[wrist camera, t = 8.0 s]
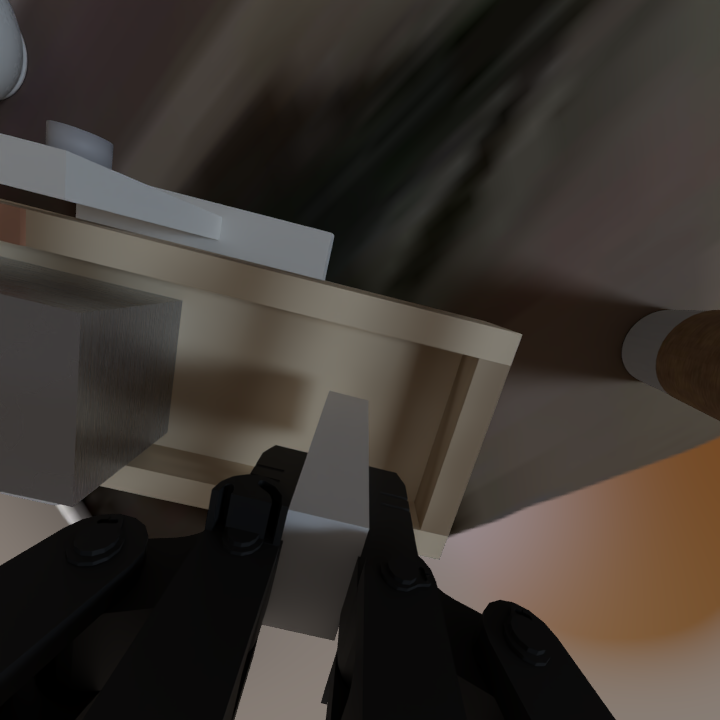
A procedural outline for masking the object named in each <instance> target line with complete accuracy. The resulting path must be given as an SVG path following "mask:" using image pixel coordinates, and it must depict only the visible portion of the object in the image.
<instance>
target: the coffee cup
mask: <svg viewBox="0 0 720 720" xmlns="http://www.w3.org/2000/svg"><path fill="white" fill-rule="evenodd" d="M622 360H623V364H624V366H625V368H626V370H627V371H628V372H629V373H630V374H631V375H632V376H633V377H634V378H636V379H638V380H640V381H642V382H644V383H646V384H648V385H650V386H652V387H654V388H657V389H659V390H661V391H663V392H665V393H667V394H669V395H670V396H672V397H674V398H676V399H678V400H680V401H682V402H684V403H686V404H688V405H690V406H692V407H693V408H695V409H697V410H699V411H701V412H703V413H705V414H707V415H709V416H711V417H713V418H715V419H717V420H719V421H720V310H711V311H697V310H663V311H657V312H654V313H651V314H649V315H647V316H645V317H644V318H642V319H641V320H639V321H638V322H637V323H636V324H635V325H634V326H633V327H632V328H631V329H630V331H629V332H628V334H627V335H626V338H625V340H624V342H623V347H622Z"/></svg>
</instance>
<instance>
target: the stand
mask: <svg viewBox="0 0 720 720" xmlns="http://www.w3.org/2000/svg"><path fill="white" fill-rule="evenodd" d="M112 157H113V144H112V143H110V142H109V141H107V140H105V139H103V138H101V137H99V136H96V135H94V134H91V133H89V132H86V131H84V130H81V129H78V128H76V127H73V126H70V125H67V124H63V123H60V122H56V121H51V120H47V121H46V145H43V144H39V143H36V142H32V141H28V140H24V139H20V138H16V137H12V136H9V135H5V134H1V133H0V184H4V185H7V186H11V187H15V188H19V189H23V190H27V191H31V192H34V193H38V194H42V195H46V196H50V197H54V198H57V199H61V200H65V201H69V202H73V203H76V218H79V219H83V220H87V221H91V222H95V223H99V224H103V225H107V226H111V227H115V228H119V229H123V230H126V231H130V232H134V233H138V234H142V235H146V236H150V237H154V238H158V239H162V240H166V241H170V242H174V243H178V244H182V245H186V246H190V247H194V248H198V249H202V250H206V251H210V252H214V253H217V254H221V255H225V256H229V257H233V258H237V259H241V260H245V261H249V262H253V263H257V264H261V265H265V266H269V267H273V268H277V269H281V270H285V271H289V272H293V273H297V274H301V275H305V276H308V277H312V278H316V279H320V280H324V281H325V277H326V272H327V267H328V263H329V258H330V253H331V249H332V244H333V239H334V235H333V234H332V233H330V232H326V231H322V230H318V229H314V228H310V227H306V226H303V225H299V224H295V223H291V222H287V221H283V220H279V219H275V218H272V217H268V216H264V215H260V214H256V213H252V212H248V211H245V210H241V209H237V208H233V207H229V206H225V205H221V204H217V203H214V202H210V201H206V200H202V199H198V198H194V197H190V196H187V195H183V194H179V193H175V192H171V191H167V190H163V189H159V188H156V187H152V186H148V185H146V184H144V183H141V182H139V181H137V180H134V179H132V178H130V177H127V176H125V175H122V174H120V173H118V172H115V171H113V170H112ZM1 494H6V495H10V496H15V497H19V498H24V499H28V500H33V501H37V502H42V503H46V504H51V505H57V503H52V502H47V501H43V500H38V499H33V498H29V497H24V496H19V495H14V494H10V493H5V492H1Z"/></svg>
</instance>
